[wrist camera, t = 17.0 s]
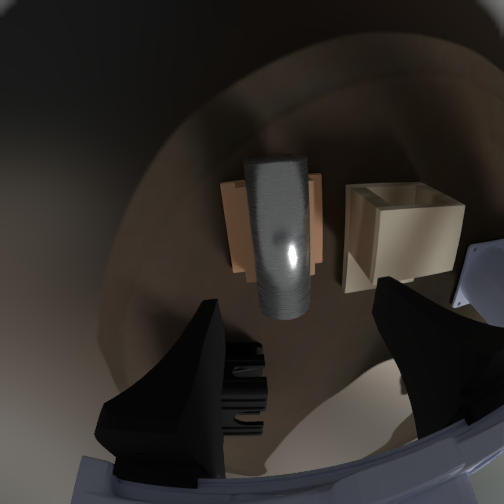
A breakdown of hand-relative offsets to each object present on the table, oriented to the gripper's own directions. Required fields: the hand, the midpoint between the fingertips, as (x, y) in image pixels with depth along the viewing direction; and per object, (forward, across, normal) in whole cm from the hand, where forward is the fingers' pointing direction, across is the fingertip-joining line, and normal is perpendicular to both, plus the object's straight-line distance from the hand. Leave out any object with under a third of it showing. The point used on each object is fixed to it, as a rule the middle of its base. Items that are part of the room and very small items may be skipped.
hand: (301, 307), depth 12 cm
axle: (+6, 0, 0) cm, 6 cm away
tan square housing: (+10, -9, +2) cm, 14 cm away
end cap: (+10, +6, +16) cm, 20 cm away
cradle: (+10, 0, 0) cm, 10 cm away
